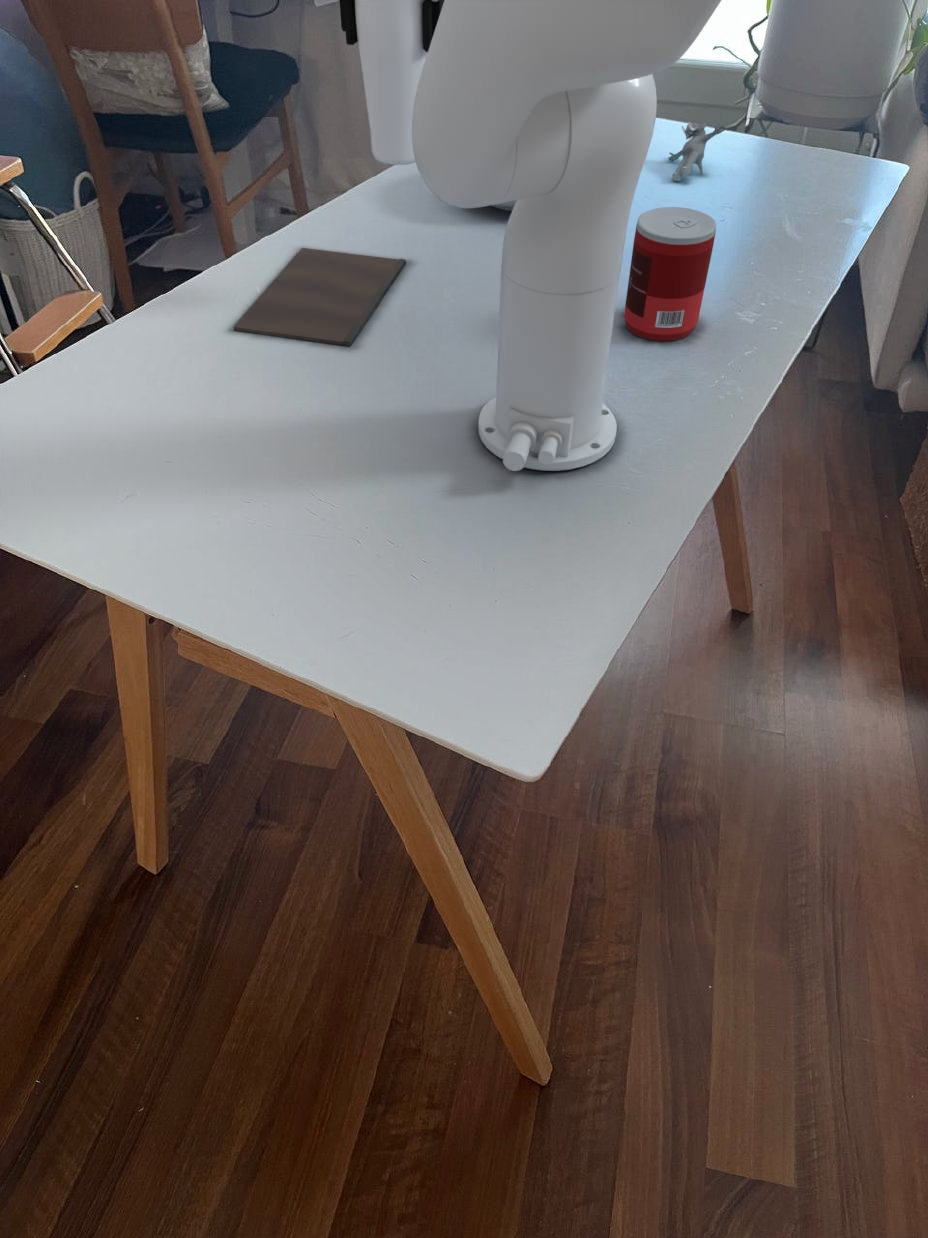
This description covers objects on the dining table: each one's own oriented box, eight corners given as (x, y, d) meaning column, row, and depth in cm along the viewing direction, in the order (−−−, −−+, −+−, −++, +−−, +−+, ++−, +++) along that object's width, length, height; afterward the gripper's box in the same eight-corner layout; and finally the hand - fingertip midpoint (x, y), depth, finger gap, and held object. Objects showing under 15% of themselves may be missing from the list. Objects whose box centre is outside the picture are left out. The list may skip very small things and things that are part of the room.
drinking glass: (422, 172, 91) (418, -9, 80) (356, 166, 92) (343, -14, 82) (439, 148, 96) (437, -26, 85) (375, 142, 97) (366, -31, 86)
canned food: (711, 324, 100) (732, 221, 92) (665, 350, 96) (684, 245, 88) (653, 300, 104) (670, 199, 96) (608, 324, 100) (621, 221, 92)
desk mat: (350, 346, 96) (350, 342, 96) (233, 330, 99) (232, 325, 98) (406, 263, 110) (406, 259, 110) (302, 250, 112) (302, 246, 112)
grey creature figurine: (640, 176, 130) (662, 132, 133) (667, 207, 133) (687, 164, 136) (696, 141, 122) (718, 96, 125) (723, 176, 125) (743, 131, 128)
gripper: (263, -212, 73) (291, 47, 86) (476, -203, 70) (472, 64, 83) (300, -219, 78) (321, 26, 91) (500, -212, 75) (493, 41, 88)
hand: (393, 42), depth 87 cm, fingers closed on drinking glass, 6 cm apart
